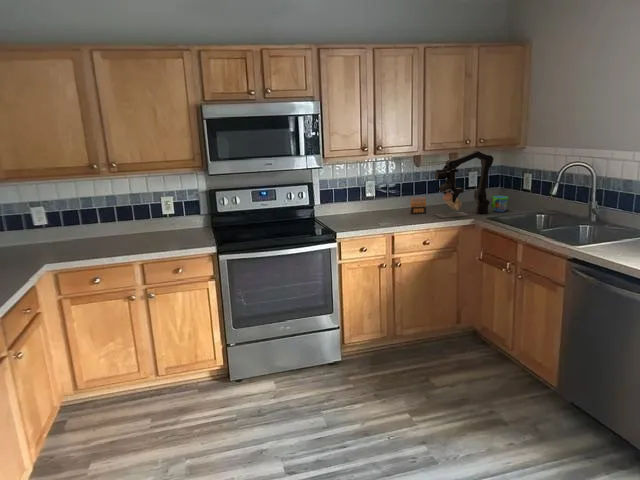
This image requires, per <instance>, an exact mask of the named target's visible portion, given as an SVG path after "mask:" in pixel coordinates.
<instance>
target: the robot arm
mask: <svg viewBox="0 0 640 480" xmlns="http://www.w3.org/2000/svg"><path fill="white" fill-rule="evenodd" d="M476 158H477V159H479V160H480V165H481V171H480V177H479V183H478V187H477V190H474V193H473V197H474V201H475V202H476V204H477V205H476V212H475V213H476V214H479V215H486V214H487V215H488V214H490V212H489V205H490V203H491V202H490V201H489V200H488V199H487V191H486V188H487V183H488V179H489V173H490V168H491V167H492V165H493V163H494V156H492V155H491V154H485V153H483V152H480V151H478V150H474V151H472V152H470V153H468V154H465V155H463V156H461V157H457V158H451V159H448V160H446V162H445V165H444V166H443V168H442V169H436V171H435V174H434V177H435V180H436V181H443V180H445V181H444V183H442V184H441V185H439V187H438V191H439V192H441V193H442V194H443V195H444V196H445V194H446V193H447V192H450V193H451V194H452V195H453V203H455V201H456V199H458V197H459V196H460V194H462V193H463V194H464V191H465V189H464V188H462V187H458V186H456V183H457V181H458V180H456V179H457V176H456V173H459V172H460V170H458V169H457V168H459V167H460V165H463V164H464V163H467V162H469V161H472V160H474V159H476Z"/></svg>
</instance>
